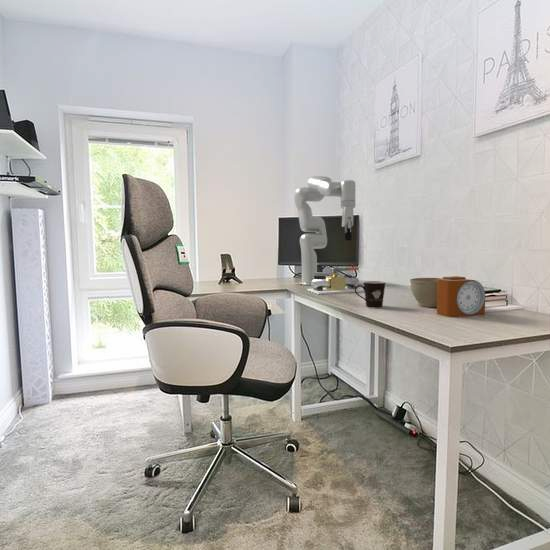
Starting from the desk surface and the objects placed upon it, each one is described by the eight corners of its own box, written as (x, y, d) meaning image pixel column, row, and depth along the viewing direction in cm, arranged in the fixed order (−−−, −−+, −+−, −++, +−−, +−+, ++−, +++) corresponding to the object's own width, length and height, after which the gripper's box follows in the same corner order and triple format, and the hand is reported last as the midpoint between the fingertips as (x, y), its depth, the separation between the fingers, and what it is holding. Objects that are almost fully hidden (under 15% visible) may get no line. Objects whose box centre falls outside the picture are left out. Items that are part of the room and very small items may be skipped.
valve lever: (333, 271, 200) (333, 268, 200) (330, 270, 204) (330, 267, 204) (358, 270, 205) (358, 267, 205) (354, 269, 209) (354, 266, 209)
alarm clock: (450, 317, 131) (451, 278, 130) (434, 313, 139) (435, 276, 138) (485, 314, 135) (487, 277, 134) (467, 310, 143) (468, 275, 142)
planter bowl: (435, 301, 164) (436, 276, 163) (461, 308, 149) (462, 280, 148) (402, 303, 161) (402, 278, 160) (424, 310, 145) (425, 282, 144)
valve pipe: (310, 289, 203) (310, 272, 203) (353, 287, 211) (353, 270, 210) (315, 291, 197) (315, 273, 196) (360, 288, 204) (360, 271, 203)
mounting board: (307, 290, 207) (307, 288, 207) (351, 288, 214) (351, 286, 214) (318, 294, 192) (318, 292, 191) (366, 291, 199) (366, 289, 199)
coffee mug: (386, 305, 158) (386, 281, 157) (383, 308, 150) (383, 283, 149) (358, 303, 162) (358, 280, 162) (354, 307, 155) (354, 282, 154)
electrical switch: (332, 288, 217) (331, 272, 215) (328, 290, 213) (327, 273, 211) (317, 287, 222) (316, 271, 220) (313, 289, 218) (312, 273, 216)
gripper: (339, 206, 204) (339, 240, 206) (342, 203, 189) (342, 240, 191) (353, 206, 204) (353, 240, 205) (357, 203, 189) (357, 240, 190)
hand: (348, 240), depth 198 cm, fingers closed
